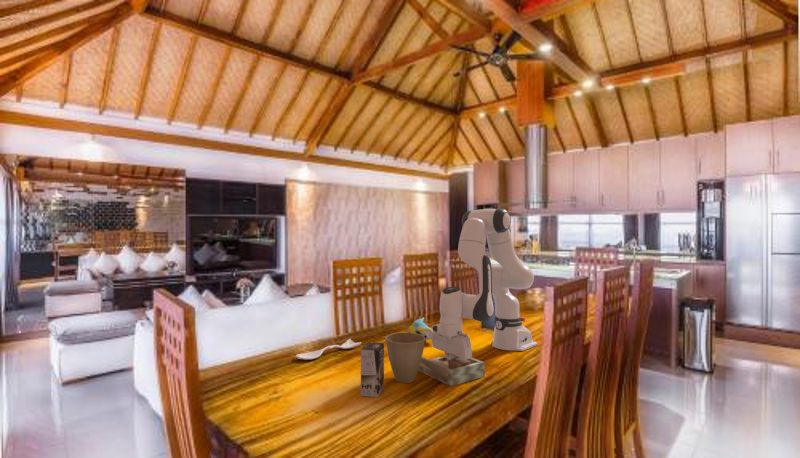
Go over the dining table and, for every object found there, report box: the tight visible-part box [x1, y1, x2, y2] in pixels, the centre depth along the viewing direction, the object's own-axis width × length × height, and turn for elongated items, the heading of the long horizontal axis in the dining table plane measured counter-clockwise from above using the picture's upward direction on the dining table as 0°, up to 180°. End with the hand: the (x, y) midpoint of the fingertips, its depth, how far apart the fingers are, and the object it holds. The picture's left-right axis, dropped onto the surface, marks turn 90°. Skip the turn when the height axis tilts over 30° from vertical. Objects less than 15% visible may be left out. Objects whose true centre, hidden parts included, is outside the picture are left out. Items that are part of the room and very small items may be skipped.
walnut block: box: [448, 358, 471, 369], centre depth 158 cm, size 6×6×4 cm
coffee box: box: [360, 342, 385, 398], centre depth 145 cm, size 9×6×16 cm
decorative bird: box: [405, 317, 433, 341], centre depth 215 cm, size 14×30×9 cm, turn 14°
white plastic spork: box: [295, 338, 362, 361], centre depth 189 cm, size 9×32×4 cm, turn 134°
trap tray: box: [418, 355, 486, 387], centre depth 163 cm, size 17×22×6 cm
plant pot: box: [385, 332, 426, 384], centre depth 157 cm, size 15×15×16 cm
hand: (451, 364), depth 162 cm, fingers closed
